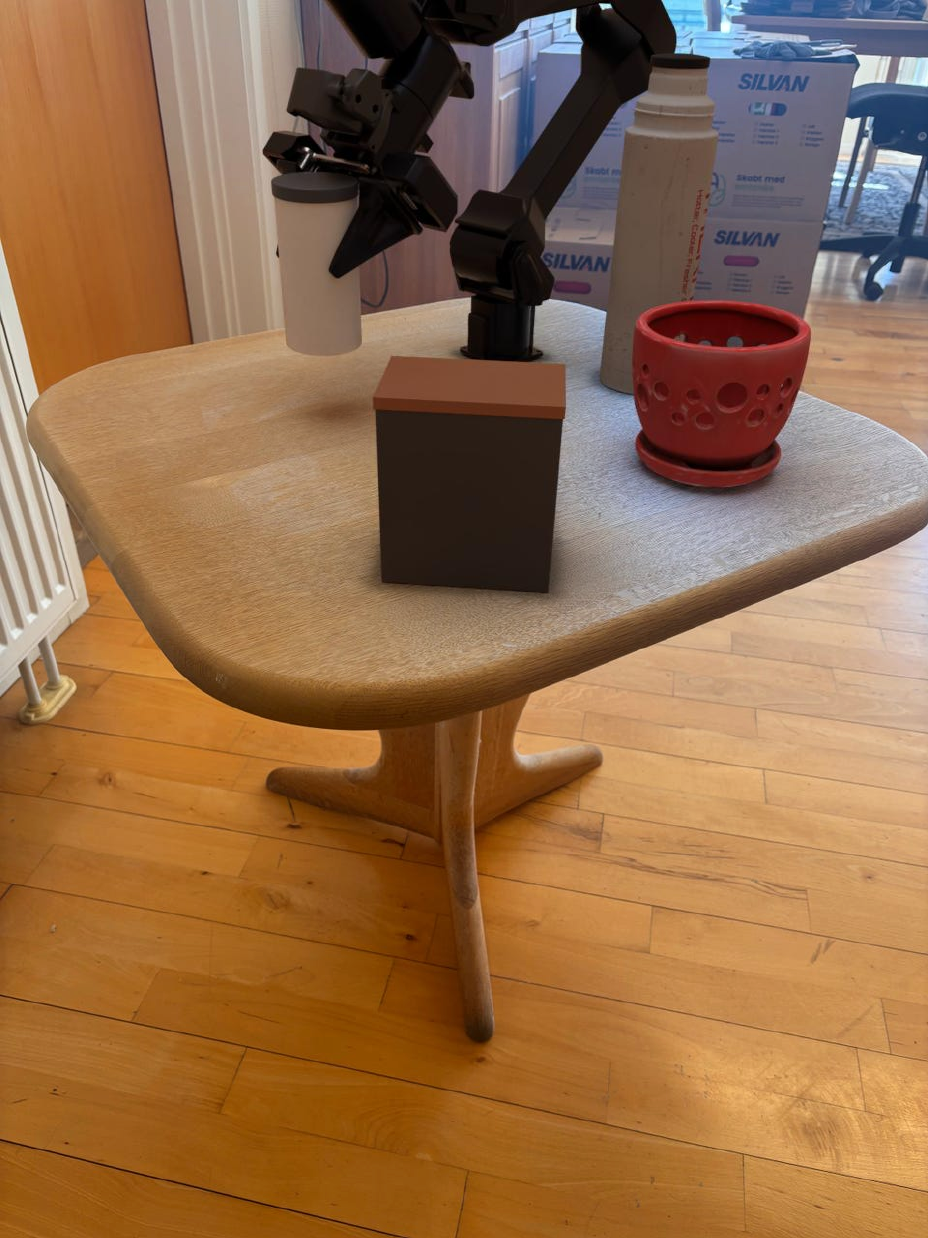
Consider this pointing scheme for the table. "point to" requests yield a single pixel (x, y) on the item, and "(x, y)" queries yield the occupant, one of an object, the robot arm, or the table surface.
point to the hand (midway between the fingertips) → (305, 266)
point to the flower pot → (715, 389)
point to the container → (317, 262)
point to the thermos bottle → (659, 205)
